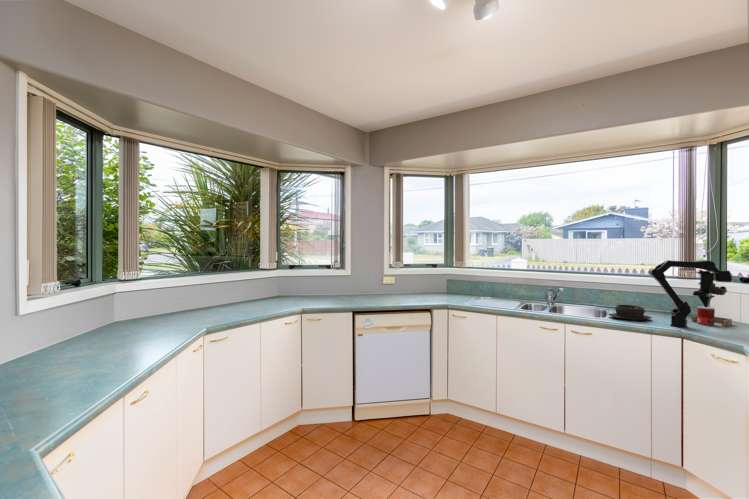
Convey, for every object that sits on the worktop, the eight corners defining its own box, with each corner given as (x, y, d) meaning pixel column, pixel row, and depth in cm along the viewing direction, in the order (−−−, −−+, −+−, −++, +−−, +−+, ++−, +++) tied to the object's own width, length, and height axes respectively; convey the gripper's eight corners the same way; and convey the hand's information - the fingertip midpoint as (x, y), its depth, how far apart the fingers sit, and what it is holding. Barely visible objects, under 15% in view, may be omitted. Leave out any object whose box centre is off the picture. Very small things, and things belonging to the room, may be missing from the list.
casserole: (640, 316, 243) (640, 304, 243) (659, 322, 225) (659, 309, 225) (602, 315, 246) (602, 303, 246) (617, 321, 228) (617, 308, 228)
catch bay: (723, 326, 214) (723, 321, 214) (691, 321, 228) (691, 316, 228) (731, 324, 219) (731, 319, 219) (700, 319, 233) (700, 314, 233)
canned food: (711, 326, 215) (711, 308, 214) (694, 323, 222) (695, 306, 222) (716, 325, 218) (716, 307, 218) (700, 322, 225) (700, 305, 225)
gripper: (717, 283, 197) (716, 310, 198) (731, 282, 206) (731, 308, 206) (692, 281, 207) (692, 307, 208) (707, 280, 216) (706, 305, 216)
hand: (706, 307), depth 209 cm, fingers closed
